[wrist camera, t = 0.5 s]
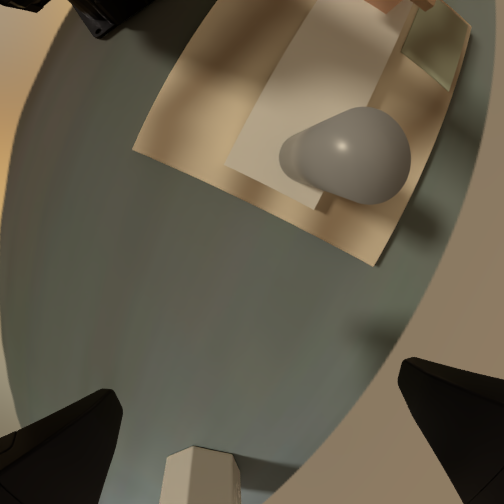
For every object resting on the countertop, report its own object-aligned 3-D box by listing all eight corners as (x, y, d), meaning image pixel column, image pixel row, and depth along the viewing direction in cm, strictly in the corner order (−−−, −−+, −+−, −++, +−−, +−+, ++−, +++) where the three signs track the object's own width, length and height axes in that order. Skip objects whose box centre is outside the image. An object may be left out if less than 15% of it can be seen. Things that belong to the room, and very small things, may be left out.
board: (137, 149, 18) (131, 149, 17) (291, -77, 12) (292, -84, 11) (368, 262, 21) (374, 267, 20) (465, 29, 15) (472, 26, 14)
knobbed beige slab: (224, 164, 18) (208, 165, 8) (345, -41, 13) (395, -113, 3) (310, 207, 19) (382, 256, 9) (410, -1, 14) (484, -52, 4)
